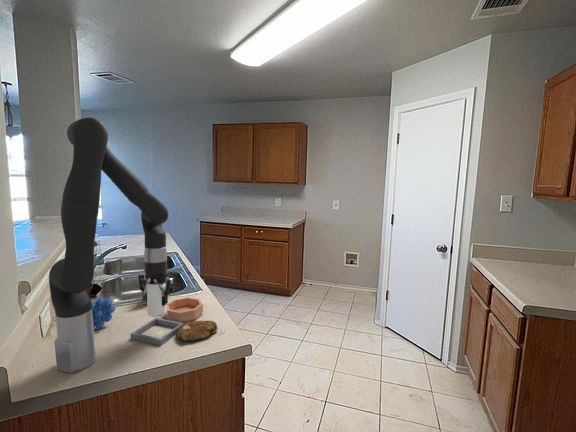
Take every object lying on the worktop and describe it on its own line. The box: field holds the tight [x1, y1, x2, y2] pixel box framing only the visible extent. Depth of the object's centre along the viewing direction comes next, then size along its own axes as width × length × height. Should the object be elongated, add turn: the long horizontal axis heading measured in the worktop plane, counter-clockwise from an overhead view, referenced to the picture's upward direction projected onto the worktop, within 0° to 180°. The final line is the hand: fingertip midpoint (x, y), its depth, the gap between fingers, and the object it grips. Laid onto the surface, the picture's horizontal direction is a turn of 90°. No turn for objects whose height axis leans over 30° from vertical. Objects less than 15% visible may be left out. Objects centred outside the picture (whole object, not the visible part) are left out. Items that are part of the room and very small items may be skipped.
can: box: [146, 282, 167, 318], centre depth 114 cm, size 6×6×12 cm
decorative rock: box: [175, 319, 219, 342], centre depth 117 cm, size 11×4×15 cm
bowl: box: [165, 296, 204, 324], centre depth 131 cm, size 14×14×4 cm
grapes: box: [91, 296, 116, 330], centre depth 119 cm, size 12×7×12 cm, turn 133°
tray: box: [130, 317, 185, 346], centre depth 116 cm, size 13×13×2 cm
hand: (156, 303), depth 114 cm, fingers closed on can, 6 cm apart
